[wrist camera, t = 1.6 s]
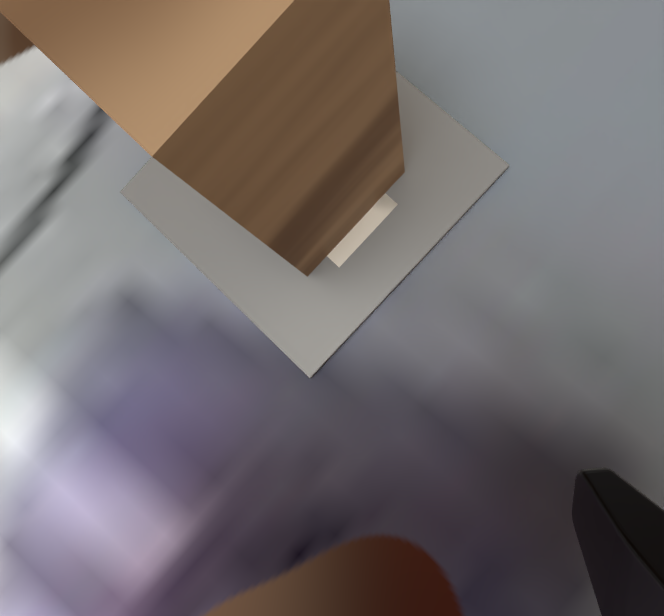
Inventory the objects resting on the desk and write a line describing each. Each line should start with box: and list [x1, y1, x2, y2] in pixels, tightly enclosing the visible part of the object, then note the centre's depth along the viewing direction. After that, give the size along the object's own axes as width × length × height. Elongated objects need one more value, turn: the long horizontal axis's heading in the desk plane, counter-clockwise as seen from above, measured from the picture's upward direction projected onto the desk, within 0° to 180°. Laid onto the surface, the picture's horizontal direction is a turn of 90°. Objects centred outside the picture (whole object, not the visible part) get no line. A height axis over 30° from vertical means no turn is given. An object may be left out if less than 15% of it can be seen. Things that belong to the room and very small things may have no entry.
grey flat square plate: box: [120, 71, 509, 378], centre depth 22 cm, size 10×10×1 cm
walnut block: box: [0, 0, 405, 277], centre depth 16 cm, size 5×5×12 cm
